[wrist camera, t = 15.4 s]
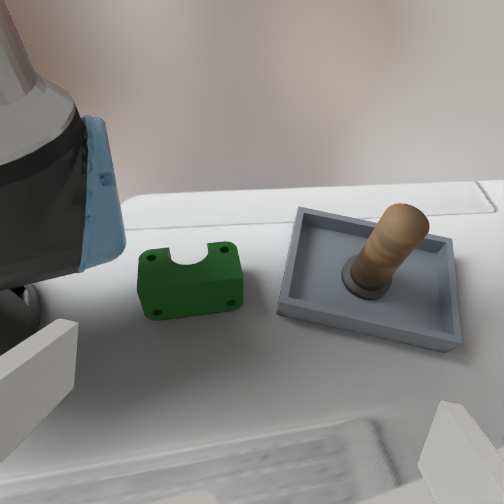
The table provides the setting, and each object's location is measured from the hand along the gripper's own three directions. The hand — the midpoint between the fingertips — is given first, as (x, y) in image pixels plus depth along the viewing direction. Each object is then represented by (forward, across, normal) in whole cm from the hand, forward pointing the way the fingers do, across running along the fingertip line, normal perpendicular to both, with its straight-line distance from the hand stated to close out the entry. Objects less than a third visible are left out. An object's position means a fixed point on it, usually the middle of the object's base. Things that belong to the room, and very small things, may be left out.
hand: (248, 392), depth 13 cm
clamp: (+30, -8, -8) cm, 32 cm away
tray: (+33, +12, -4) cm, 36 cm away
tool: (+32, +12, -3) cm, 35 cm away
